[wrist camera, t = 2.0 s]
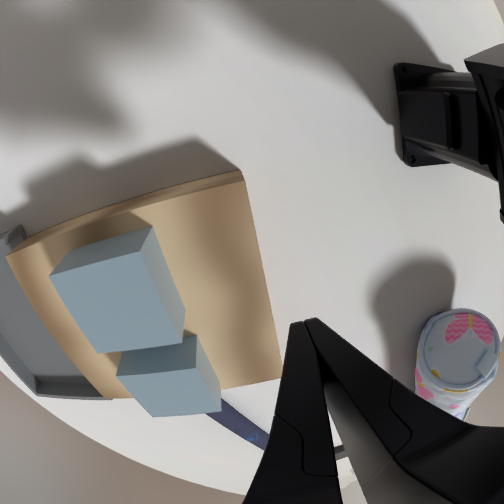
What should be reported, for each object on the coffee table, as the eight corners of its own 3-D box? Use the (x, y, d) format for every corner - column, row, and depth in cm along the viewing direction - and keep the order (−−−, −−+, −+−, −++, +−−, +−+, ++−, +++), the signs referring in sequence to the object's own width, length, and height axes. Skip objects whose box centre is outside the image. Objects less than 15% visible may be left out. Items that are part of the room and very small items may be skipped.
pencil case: (448, 377, 30) (475, 421, 22) (402, 406, 31) (425, 454, 23) (464, 284, 21) (522, 345, 12) (397, 330, 22) (447, 409, 13)
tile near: (152, 225, 12) (139, 251, 10) (185, 309, 14) (182, 342, 12) (69, 250, 12) (48, 275, 10) (109, 323, 14) (97, 353, 12)
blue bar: (363, 451, 36) (301, 475, 37) (359, 442, 38) (299, 466, 39) (315, 367, 20) (187, 414, 21) (307, 347, 22) (187, 394, 23)
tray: (20, 224, 13) (4, 237, 11) (117, 382, 21) (114, 400, 19) (-41, 259, 13) (-53, 270, 11) (42, 382, 21) (36, 396, 19)
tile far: (197, 334, 15) (195, 367, 13) (219, 381, 18) (221, 411, 16) (123, 345, 15) (115, 376, 13) (155, 389, 18) (152, 417, 15)
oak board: (240, 169, 14) (244, 180, 12) (278, 352, 20) (284, 376, 18) (24, 238, 14) (5, 256, 11) (110, 376, 20) (105, 398, 18)
